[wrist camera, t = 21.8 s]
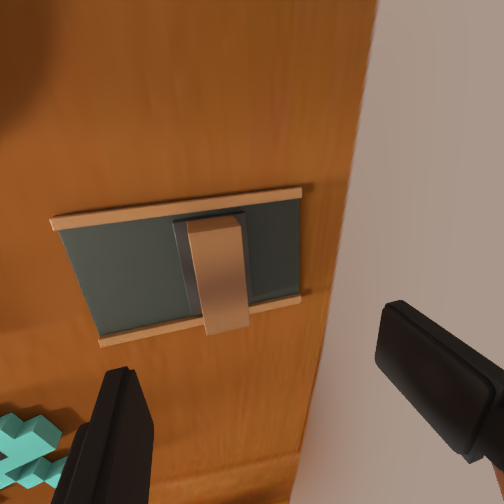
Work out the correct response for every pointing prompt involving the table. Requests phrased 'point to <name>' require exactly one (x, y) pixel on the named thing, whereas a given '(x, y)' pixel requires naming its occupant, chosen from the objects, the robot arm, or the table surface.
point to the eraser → (216, 269)
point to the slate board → (174, 260)
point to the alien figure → (28, 451)
